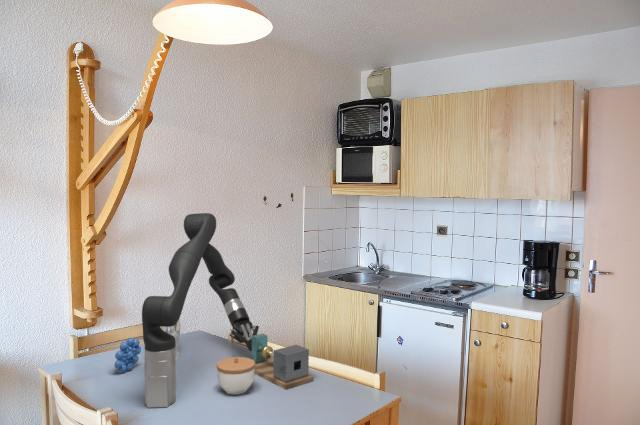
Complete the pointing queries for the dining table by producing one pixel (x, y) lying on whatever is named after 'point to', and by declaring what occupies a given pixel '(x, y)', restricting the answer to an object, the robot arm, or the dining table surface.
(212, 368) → the dining table surface
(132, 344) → the grapes
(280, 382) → the base board
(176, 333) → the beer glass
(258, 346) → the shaft
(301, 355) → the block
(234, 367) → the lidded bowl
